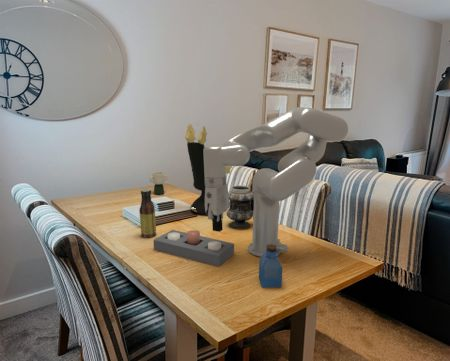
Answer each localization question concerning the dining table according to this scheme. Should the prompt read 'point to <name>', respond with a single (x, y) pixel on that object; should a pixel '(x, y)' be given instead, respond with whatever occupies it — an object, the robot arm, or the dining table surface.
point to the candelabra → (198, 165)
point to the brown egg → (193, 237)
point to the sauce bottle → (147, 215)
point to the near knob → (214, 245)
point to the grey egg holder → (194, 249)
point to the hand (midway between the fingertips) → (217, 230)
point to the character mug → (158, 182)
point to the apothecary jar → (240, 207)
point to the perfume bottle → (270, 268)
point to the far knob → (173, 236)
